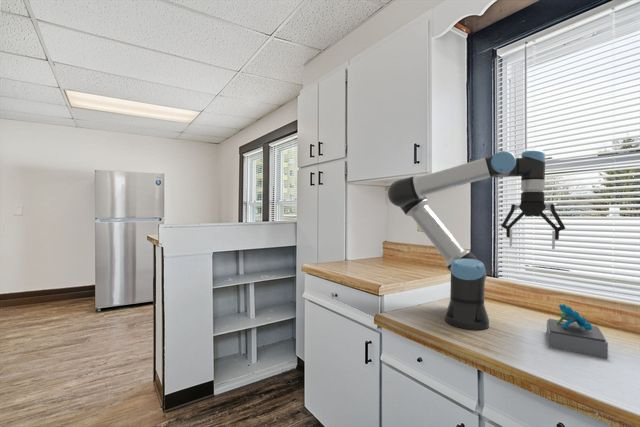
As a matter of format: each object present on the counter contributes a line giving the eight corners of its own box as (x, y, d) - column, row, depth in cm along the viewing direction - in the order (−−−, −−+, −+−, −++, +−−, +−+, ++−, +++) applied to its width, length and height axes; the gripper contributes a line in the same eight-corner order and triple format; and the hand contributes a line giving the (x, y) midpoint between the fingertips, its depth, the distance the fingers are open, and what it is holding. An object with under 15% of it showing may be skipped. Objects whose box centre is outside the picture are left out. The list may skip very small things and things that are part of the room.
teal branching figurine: (601, 330, 98) (573, 304, 100) (586, 343, 98) (558, 317, 100) (579, 323, 108) (554, 300, 111) (565, 335, 109) (541, 312, 111)
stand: (548, 346, 102) (548, 330, 102) (546, 332, 114) (546, 317, 114) (607, 358, 94) (607, 341, 94) (598, 341, 107) (599, 326, 107)
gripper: (572, 191, 120) (571, 248, 120) (496, 192, 134) (495, 244, 134) (575, 190, 114) (573, 250, 114) (494, 191, 127) (493, 245, 128)
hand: (531, 247), depth 124 cm, fingers open, 13 cm apart
